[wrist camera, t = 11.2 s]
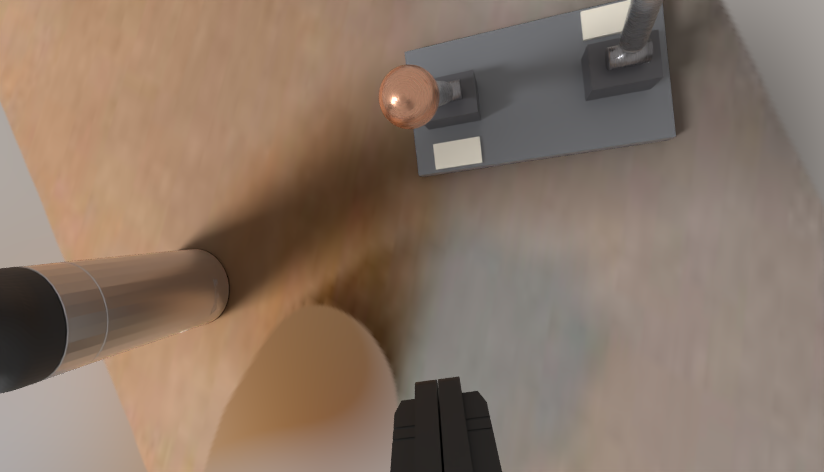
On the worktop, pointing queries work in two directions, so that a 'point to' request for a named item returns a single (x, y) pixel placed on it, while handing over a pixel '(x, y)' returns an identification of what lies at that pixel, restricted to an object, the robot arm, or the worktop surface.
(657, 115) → the switch board
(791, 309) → the worktop surface
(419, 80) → the lever
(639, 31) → the lever
